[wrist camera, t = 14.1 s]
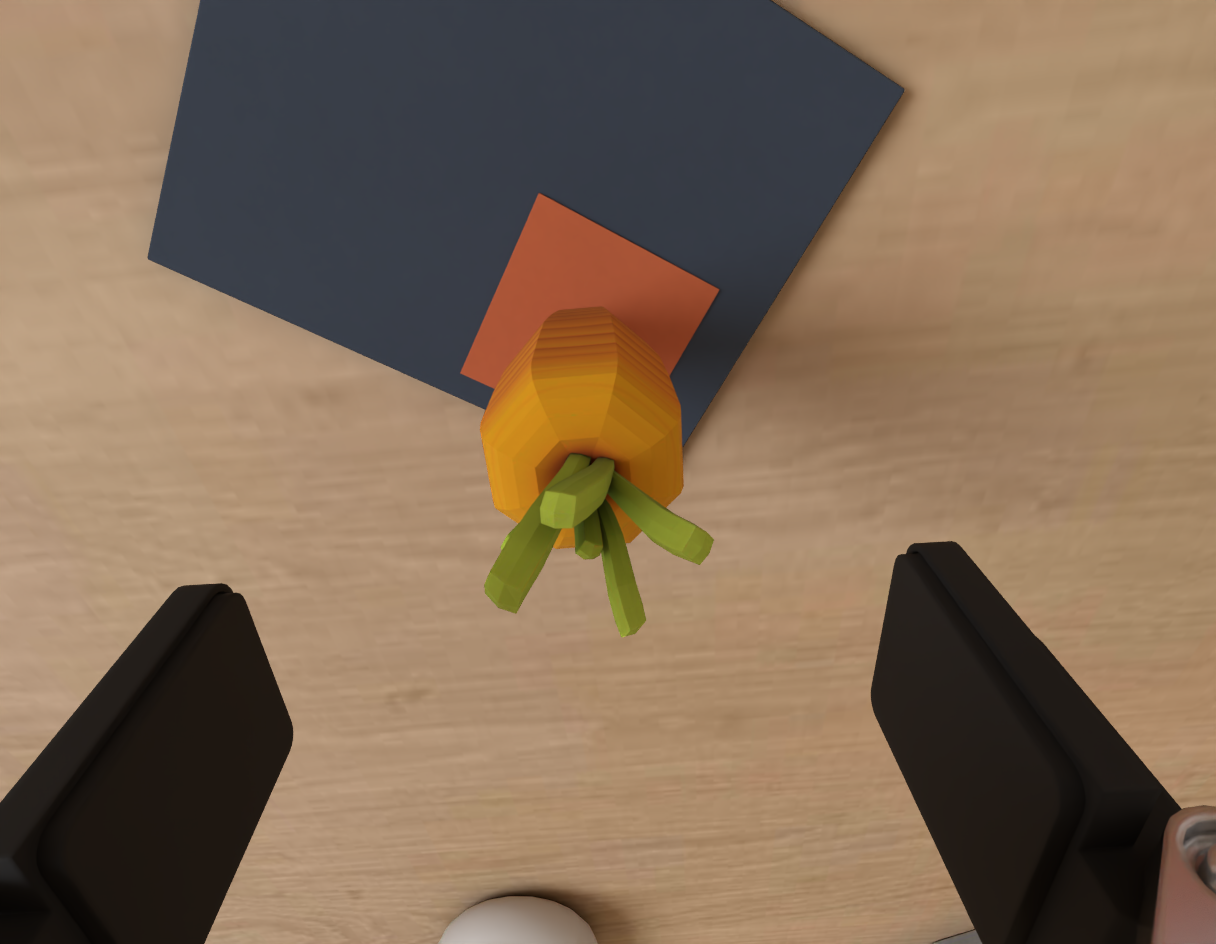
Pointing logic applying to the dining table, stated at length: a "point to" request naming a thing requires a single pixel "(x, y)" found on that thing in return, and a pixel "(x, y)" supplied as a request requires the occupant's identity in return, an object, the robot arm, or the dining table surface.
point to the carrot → (585, 457)
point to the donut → (518, 923)
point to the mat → (511, 172)
